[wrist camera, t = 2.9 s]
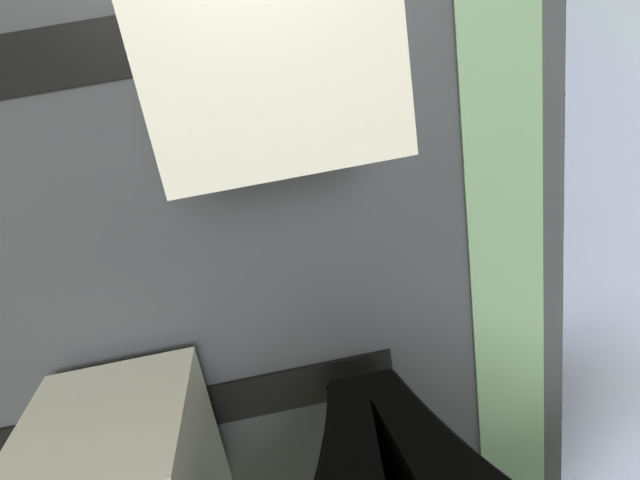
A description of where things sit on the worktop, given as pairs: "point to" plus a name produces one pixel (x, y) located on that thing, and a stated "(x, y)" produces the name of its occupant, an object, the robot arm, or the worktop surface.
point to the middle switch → (119, 424)
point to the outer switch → (268, 87)
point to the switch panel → (297, 242)
